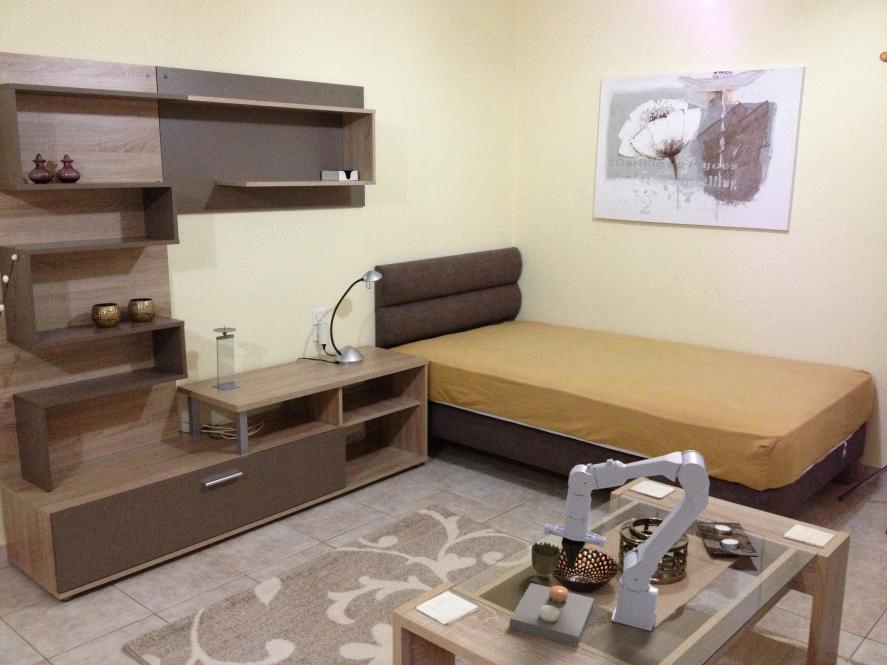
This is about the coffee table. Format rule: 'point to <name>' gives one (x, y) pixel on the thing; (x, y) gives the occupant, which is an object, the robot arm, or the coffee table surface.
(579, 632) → the button panel
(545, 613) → the white rounded piece
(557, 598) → the terracotta button
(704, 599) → the coffee table surface
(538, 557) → the cup
